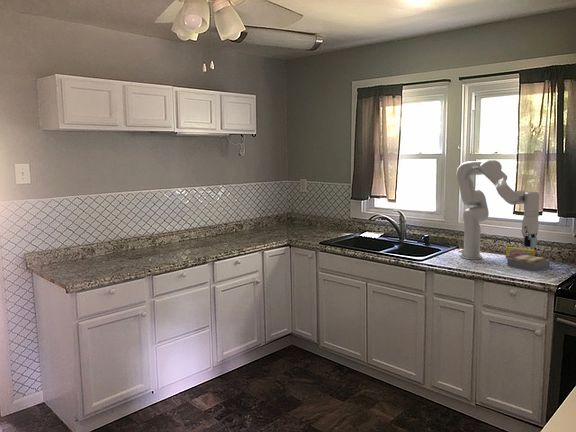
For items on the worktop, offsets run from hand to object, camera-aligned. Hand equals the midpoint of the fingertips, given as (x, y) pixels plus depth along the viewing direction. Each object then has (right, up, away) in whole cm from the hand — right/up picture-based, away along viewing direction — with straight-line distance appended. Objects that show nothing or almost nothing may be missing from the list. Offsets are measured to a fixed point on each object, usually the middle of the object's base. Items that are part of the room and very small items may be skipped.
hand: (529, 245), depth 279 cm
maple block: (0, -12, +2) cm, 12 cm away
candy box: (+3, -11, +18) cm, 21 cm away
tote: (0, -13, +2) cm, 13 cm away
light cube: (0, 0, 0) cm, 1 cm away
